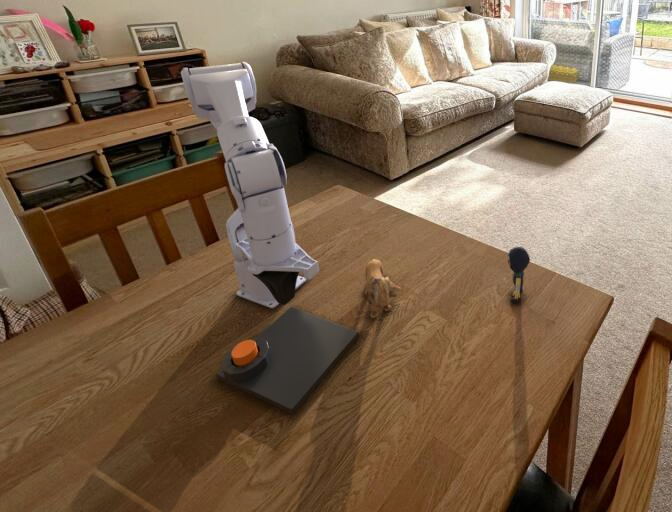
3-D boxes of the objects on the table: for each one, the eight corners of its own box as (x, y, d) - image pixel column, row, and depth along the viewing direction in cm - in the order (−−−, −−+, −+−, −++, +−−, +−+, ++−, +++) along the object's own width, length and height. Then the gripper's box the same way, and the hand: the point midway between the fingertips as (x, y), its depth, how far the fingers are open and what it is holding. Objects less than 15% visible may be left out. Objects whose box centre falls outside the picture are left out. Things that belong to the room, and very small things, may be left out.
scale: (216, 379, 62) (212, 365, 60) (292, 311, 74) (289, 298, 73) (292, 415, 57) (288, 401, 56) (359, 336, 69) (357, 323, 68)
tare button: (228, 362, 61) (226, 354, 61) (247, 345, 64) (245, 337, 64) (244, 369, 60) (241, 360, 60) (262, 351, 63) (260, 343, 63)
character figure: (507, 280, 82) (509, 232, 78) (527, 281, 82) (530, 233, 78) (505, 317, 74) (506, 264, 69) (527, 318, 74) (530, 265, 69)
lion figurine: (405, 320, 73) (401, 281, 69) (375, 333, 70) (370, 293, 67) (381, 271, 84) (376, 236, 81) (354, 281, 81) (349, 244, 78)
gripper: (207, 231, 58) (229, 304, 63) (283, 257, 53) (300, 333, 58) (252, 206, 64) (269, 274, 69) (324, 228, 59) (336, 299, 64)
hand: (286, 299), depth 64 cm, fingers closed
